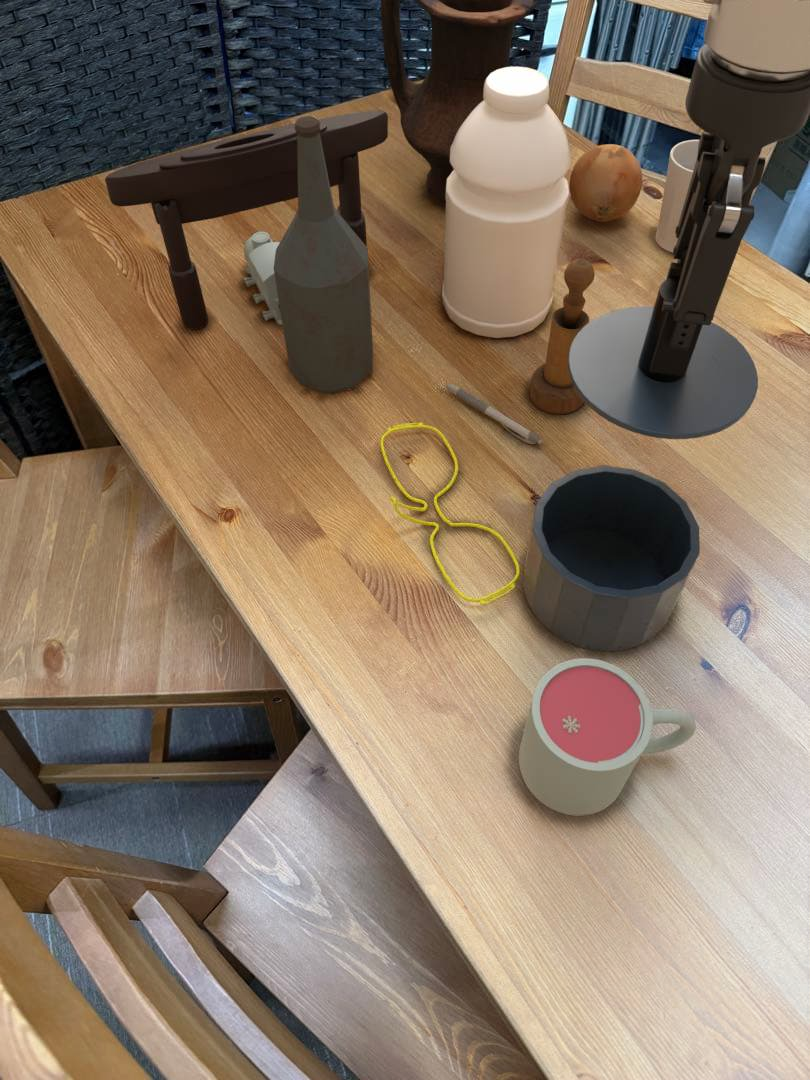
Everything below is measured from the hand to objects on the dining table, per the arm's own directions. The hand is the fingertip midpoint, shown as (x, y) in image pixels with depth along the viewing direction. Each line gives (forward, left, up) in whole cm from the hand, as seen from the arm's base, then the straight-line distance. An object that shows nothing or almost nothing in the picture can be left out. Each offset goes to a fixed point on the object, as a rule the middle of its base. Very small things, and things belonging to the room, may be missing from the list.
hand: (667, 351), depth 70 cm
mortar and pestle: (+7, -18, -23) cm, 30 cm away
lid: (0, 0, -2) cm, 2 cm away
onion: (+4, -55, -23) cm, 59 cm away
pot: (+1, +8, -23) cm, 24 cm away
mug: (0, +26, -23) cm, 35 cm away
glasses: (+18, +2, -23) cm, 30 cm away
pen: (+14, -13, -23) cm, 30 cm away
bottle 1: (+34, -18, -23) cm, 45 cm away
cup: (-7, -51, -23) cm, 56 cm away
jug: (+25, -59, -23) cm, 68 cm away
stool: (+45, -30, -23) cm, 59 cm away
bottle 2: (+16, -33, -23) cm, 43 cm away
